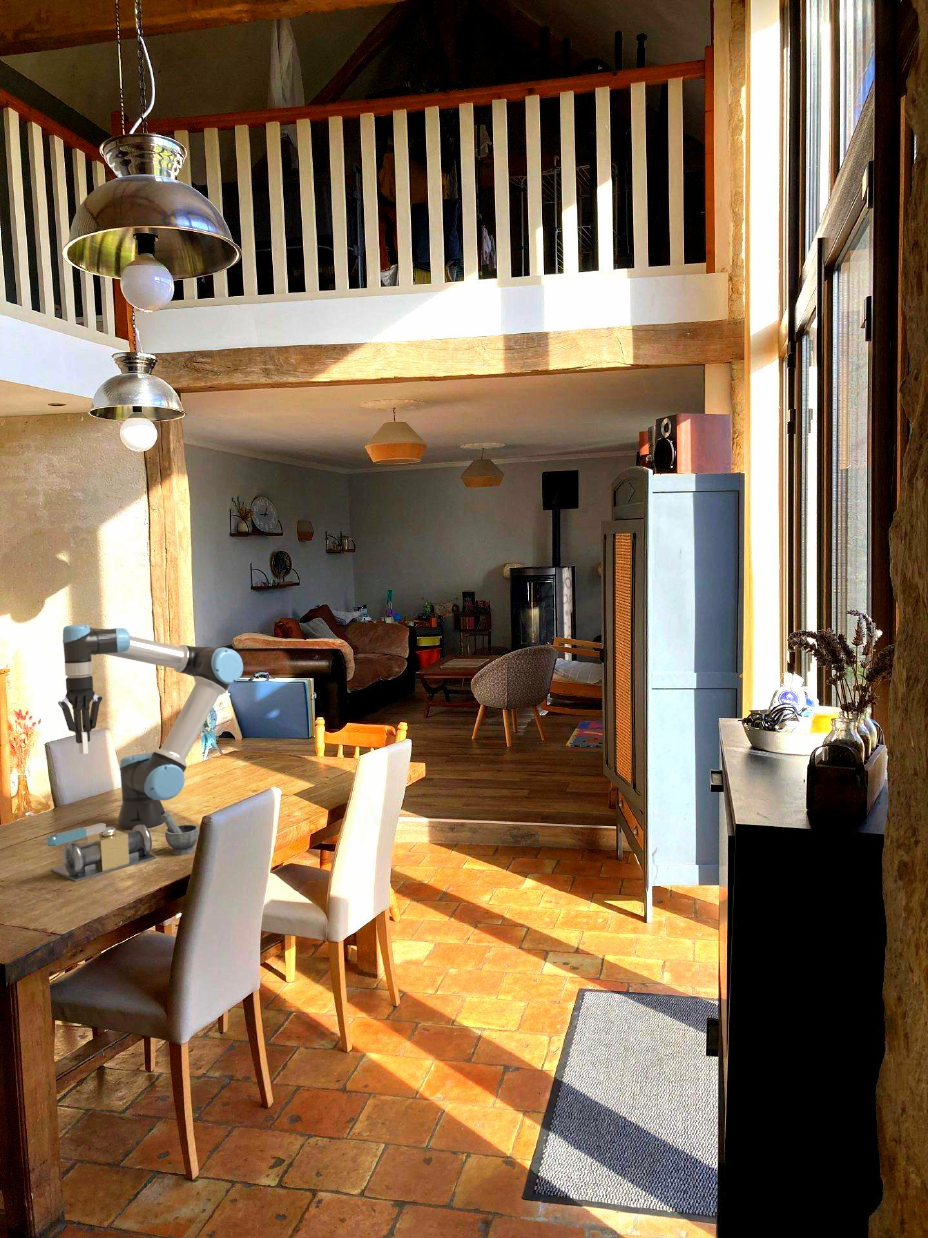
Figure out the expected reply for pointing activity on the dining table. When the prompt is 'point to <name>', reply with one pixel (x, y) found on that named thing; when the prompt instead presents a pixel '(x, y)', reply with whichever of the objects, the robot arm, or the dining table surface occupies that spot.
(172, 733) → the robot arm
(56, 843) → the lever
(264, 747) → the dining table surface
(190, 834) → the mortar and pestle
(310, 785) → the dining table surface
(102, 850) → the valve body
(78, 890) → the dining table surface
